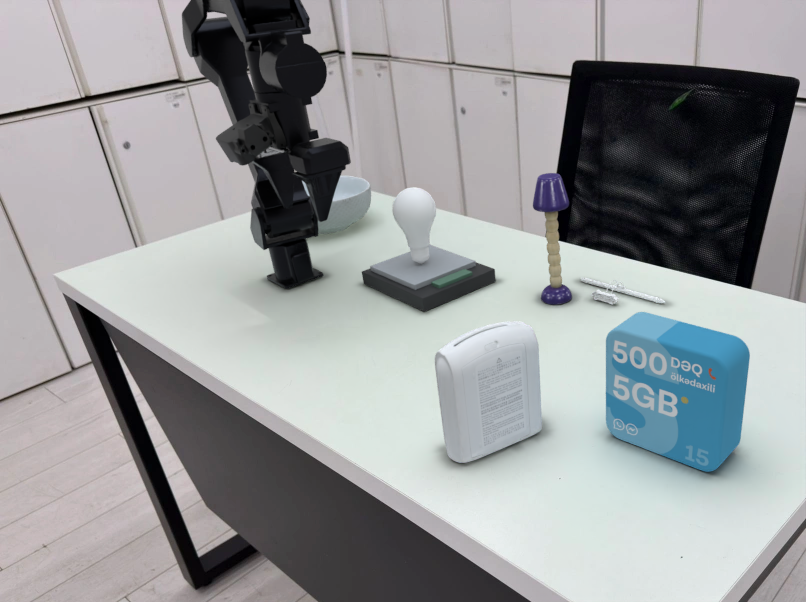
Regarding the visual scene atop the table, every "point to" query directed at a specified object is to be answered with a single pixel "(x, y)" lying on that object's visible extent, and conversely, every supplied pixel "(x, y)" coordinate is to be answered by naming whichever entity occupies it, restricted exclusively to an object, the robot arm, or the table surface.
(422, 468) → the table surface
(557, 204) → the toy lamp
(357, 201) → the cereal bowl
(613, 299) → the picture light
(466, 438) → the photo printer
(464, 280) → the scale
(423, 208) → the lightbulb
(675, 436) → the data package
